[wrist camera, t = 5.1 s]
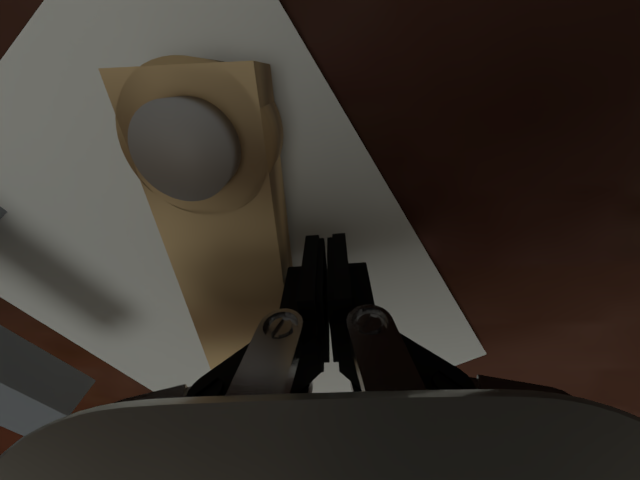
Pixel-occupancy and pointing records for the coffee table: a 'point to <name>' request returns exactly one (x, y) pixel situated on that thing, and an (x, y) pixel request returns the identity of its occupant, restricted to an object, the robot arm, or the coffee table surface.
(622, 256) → the coffee table surface
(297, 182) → the mounting board
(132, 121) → the tan bar
